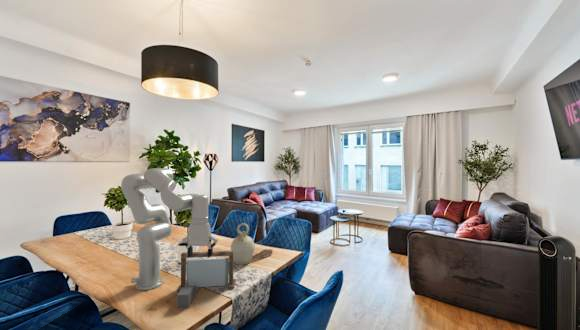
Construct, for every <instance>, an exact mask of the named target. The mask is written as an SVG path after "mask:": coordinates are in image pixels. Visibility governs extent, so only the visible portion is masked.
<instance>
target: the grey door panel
mask: <svg viewBox="0 0 580 330" xmlns="http://www.w3.org/2000/svg"><path fill="white" fill-rule="evenodd" d="M186 282H187V286H186V287H189V286H197V288H206V287H209V288H210V287H222V286H223V287H224V286H229V257H219V258H217V257H216V258H199V259H195V258H194V259H186Z"/></svg>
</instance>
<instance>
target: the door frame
mask: <svg viewBox="0 0 580 330" xmlns="http://www.w3.org/2000/svg"><path fill="white" fill-rule="evenodd" d="M206 257H207V258H208V251H193V255H191V256H190V257H188V254H187V252H182V253H180V284H179V286H178V288H177V289H176V293H177V294H178V293H179V291H180V289H181V288H183V287H187V259H190V258H191V259H192V258H206ZM211 257H228V258H229V284H228V285H227V286H228V288H227V289H228V290H234V289H235V288H236V287H235V286H236V281H237V279H236V278H234V261H233V250H232V251H231V250H216V251H215V250H213V253H212V256H211ZM211 257H210V258H211Z"/></svg>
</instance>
